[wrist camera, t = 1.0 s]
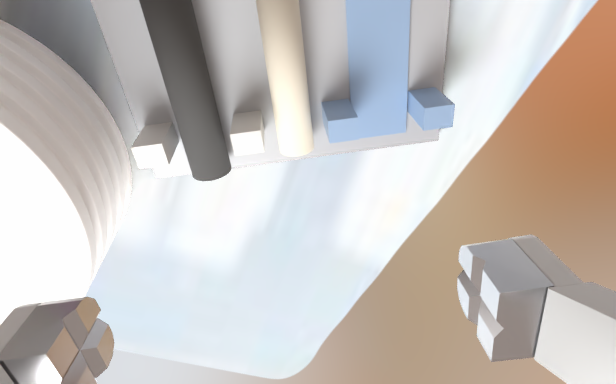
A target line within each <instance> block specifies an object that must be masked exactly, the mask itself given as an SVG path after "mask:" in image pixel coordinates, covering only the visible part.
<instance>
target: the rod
mask: <svg viewBox="0 0 616 384" xmlns="http://www.w3.org/2000/svg"><path fill="white" fill-rule="evenodd" d="M256 6H257V12H258V18H259V24H260V31H261V37H262V43H263V50H264V56H265V62H266V68H267V75H268V81H269V87H270V94H271V100H272V106H273V112H274V119H275V125H276V131H277V138H278V144H279V150H280V153H281V154H282V155H285V156H289V157H298V156H303V155H306V154H308V153H310V152H311V151H312V150H313V149H314V141H313V131H312V122H311V112H310V103H309V93H308V84H307V74H306V65H305V55H304V46H303V36H302V27H301V17H300V8H299V0H256Z"/></svg>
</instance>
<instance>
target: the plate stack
mask: <svg viewBox="0 0 616 384" xmlns="http://www.w3.org/2000/svg"><path fill="white" fill-rule="evenodd" d="M131 192H132V171H131V164H130V159H129V155H128V151H127V148H126V145H125V142H124V140H123V137H122V135H121V133H120V130H119V128H118V126H117V124H116V123H115V121H114V119H113V117H112V116H111V114H110V112H109V111H108V109H107V108H106V106H105V105H104V103H103V102H102V101H101V99H100V98H99V97H98V95H97V94H96V93H95V92H94V90H93V89H92V88H91V87H90V86H89V85H88V83H87V82H86V81H85V80H84V79H83V78H82V77H81V76H80V75H79V74H78V73H77V72H76V71H75V70H74V69H73V68H72V67H71V66H69V65H68V64H67V63H66V62H65V61H64V60H63V59H61V58H60V57H59V56H58V55H56V54H55V53H54V52H53V51H51V50H50V49H49V48H47V47H46V46H45V45H43V44H42V43H40V42H39V41H37V40H36V39H34V38H33V37H31V36H29V35H28V34H26V33H25V32H23V31H21V30H19V29H18V28H16V27H14V26H12V25H10V24H8V23H6V22H4V21H2V20H0V325H1V323H2V322H3V321H4V320H5V319H6V318H7V316H8V315H9V314H10V313H11V312H12V311H13V309H14V308H16V307H19V306H21V305H24V304H32V303H40V302H46V301H55V300H64V299H73V298H81V297H85V295H86V293H87V291H88V289H89V287H90V285H91V283H92V281H93V279H94V277H95V275H96V273H97V271H98V269H99V267H100V265H101V263H102V261H103V259H104V257H105V255H106V253H107V251H108V249H109V247H110V245H111V243H112V241H113V239H114V237H115V235H116V233H117V231H118V229H119V227H120V225H121V223H122V221H123V219H124V217H125V215H126V213H127V210H128V207H129V203H130V199H131Z"/></svg>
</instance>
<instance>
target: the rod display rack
mask: <svg viewBox="0 0 616 384" xmlns="http://www.w3.org/2000/svg"><path fill="white" fill-rule="evenodd" d="M90 1H91V4H92V7H93V9H94V12H95V15H96V18H97V20H98V23H99V26H100V29H101V31H102V34H103V37H104V39H105V42H106V45H107V48H108V50H109V53H110V56H111V59H112V61H113V64H114V67H115V70H116V72H117V75H118V78H119V80H120V83H121V86H122V89H123V91H124V94H125V97H126V100H127V102H128V105H129V108H130V110H131V113H132V116H133V119H134V121H135V124H136V127H137V130H138V132H139V135H138V137H137V139H136V140H135V142H134V143H133V145H132V146H131V150H132V153H133V155H134V158H135V160H136V163H137V166H138V168H139V169H145V168H152V171H153V173H154V176H155V179H158V178H166V177H173V176H180V175H188V174H192V172H191V169H190V166H189V162H188V159H187V156H186V153H185V149H184V146H183V143H182V139H181V136H180V133H179V130H178V126H177V123H176V120H175V116H174V113H173V110H172V107H171V103H170V100H169V97H168V93H167V90H166V87H165V84H164V80H163V77H162V74H161V71H160V67H159V64H158V61H157V57H156V54H155V51H154V48H153V44H152V41H151V38H150V34H149V31H148V28H147V25H146V21H145V18H144V15H143V12H142V8H141V5H140V2H139V0H90ZM192 4H193V8H194V13H195V17H196V21H197V25H198V29H199V33H200V38H201V42H202V46H203V50H204V54H205V58H206V63H207V67H208V71H209V75H210V79H211V84H212V88H213V92H214V96H215V100H216V104H217V109H218V113H219V117H220V121H221V125H222V130H223V134H224V138H225V142H226V146H227V150H228V155H229V159H230V163H231V169H232V168H239V167H247V166H254V165H261V164H269V163H276V162H283V161H291V160H298V159H305V158H313V157H320V156H327V155H335V154H342V153H349V152H357V151H364V150H372V149H379V148H386V147H394V146H401V145H408V144H416V143H423V142H430V141H438V140H439V129H441V128H448V127H453V117H454V108H455V104H454V103H453V102H452V101H450V100H449V99H448V98H447V97H446V96H445V95H444V94H442V92H443V80H444V68H445V57H446V45H447V33H448V21H449V9H450V0H299V8H300V17H301V27H302V36H303V46H304V55H305V65H306V74H307V84H308V93H309V103H310V112H311V122H312V131H313V141H314V149H313V150H312V151H311V152H310V153H308V154H306V155H303V156H298V157H289V156H285V155H282V154H281V153H280V150H279V144H278V138H277V131H276V125H275V119H274V112H273V106H272V100H271V94H270V87H269V81H268V75H267V68H266V62H265V56H264V50H263V43H262V37H261V31H260V24H259V18H258V12H257V6H256V0H192Z"/></svg>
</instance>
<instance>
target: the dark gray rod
mask: <svg viewBox="0 0 616 384" xmlns="http://www.w3.org/2000/svg"><path fill="white" fill-rule="evenodd" d="M139 2H140V5H141V8H142V12H143V15H144V18H145V21H146V25H147V28H148V31H149V34H150V38H151V41H152V44H153V48H154V51H155V54H156V57H157V61H158V64H159V67H160V71H161V74H162V77H163V80H164V84H165V87H166V90H167V93H168V97H169V100H170V103H171V107H172V110H173V113H174V116H175V120H176V123H177V126H178V130H179V133H180V136H181V139H182V143H183V146H184V149H185V153H186V156H187V159H188V162H189V166H190V169H191V172H192V175H193V178H195V179H196V180H199V181H211V180H215V179H219V178H221V177H223V176H225V175H227V174H228V173H229V172H230V170H231V163H230V159H229V155H228V150H227V146H226V142H225V138H224V134H223V130H222V125H221V121H220V117H219V113H218V109H217V104H216V100H215V96H214V92H213V88H212V84H211V79H210V75H209V71H208V67H207V63H206V58H205V54H204V50H203V46H202V42H201V38H200V33H199V29H198V25H197V21H196V17H195V13H194V8H193V4H192V0H139Z"/></svg>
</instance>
